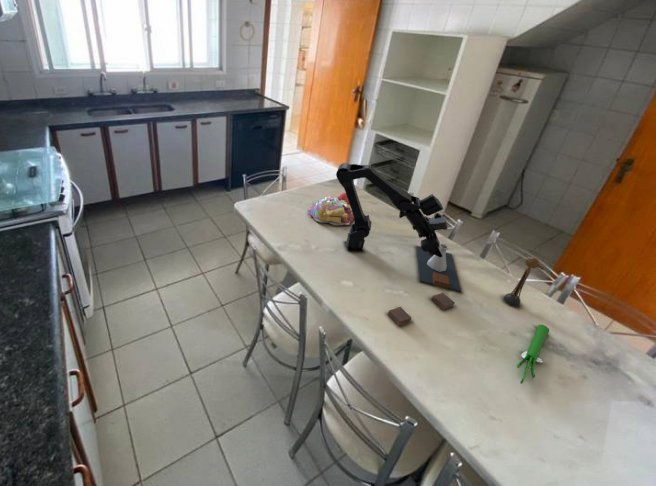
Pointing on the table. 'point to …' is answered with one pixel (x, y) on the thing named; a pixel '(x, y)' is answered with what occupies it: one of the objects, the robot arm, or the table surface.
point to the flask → (439, 260)
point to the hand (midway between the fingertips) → (439, 250)
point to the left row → (402, 317)
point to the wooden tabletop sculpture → (522, 282)
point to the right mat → (437, 272)
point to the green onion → (534, 350)
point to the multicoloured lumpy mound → (332, 210)
